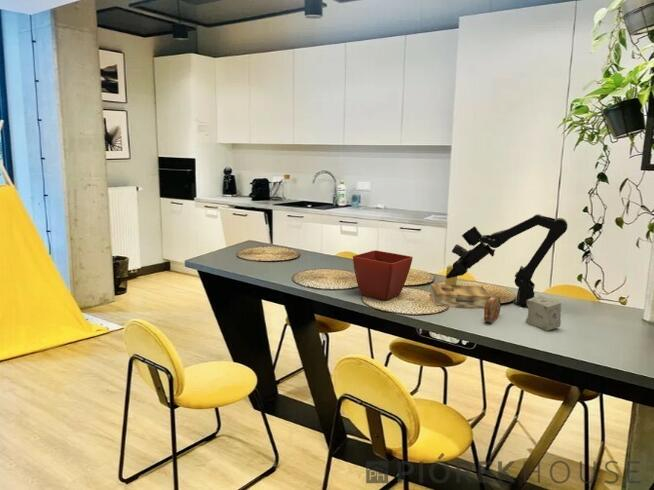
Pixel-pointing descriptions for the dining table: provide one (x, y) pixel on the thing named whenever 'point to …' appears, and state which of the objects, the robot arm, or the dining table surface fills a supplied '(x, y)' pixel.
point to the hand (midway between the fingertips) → (448, 275)
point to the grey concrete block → (543, 313)
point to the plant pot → (381, 273)
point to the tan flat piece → (459, 295)
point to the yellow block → (450, 280)
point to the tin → (492, 309)
